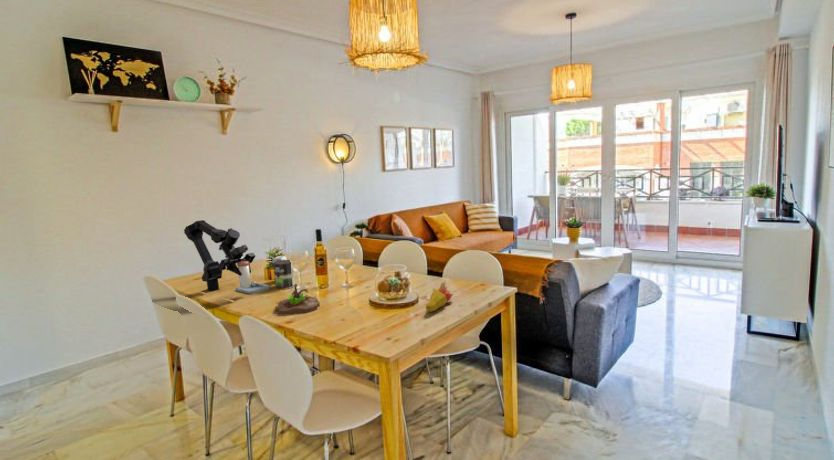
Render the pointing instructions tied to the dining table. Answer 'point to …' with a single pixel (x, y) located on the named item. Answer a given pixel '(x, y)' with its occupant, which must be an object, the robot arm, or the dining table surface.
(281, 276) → the coffee can
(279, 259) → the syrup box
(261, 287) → the tray
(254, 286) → the steel ball
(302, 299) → the plant
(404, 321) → the dining table surface
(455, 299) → the dining table surface
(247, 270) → the shaker
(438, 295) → the flower bouquet
